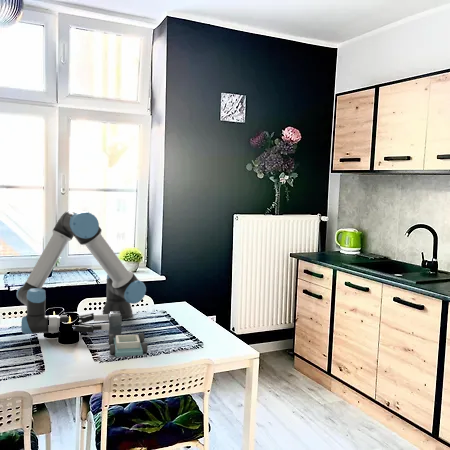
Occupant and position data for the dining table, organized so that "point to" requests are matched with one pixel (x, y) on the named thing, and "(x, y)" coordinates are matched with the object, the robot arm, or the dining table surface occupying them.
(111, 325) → the grey upright block
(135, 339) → the chassis
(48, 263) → the robot arm
